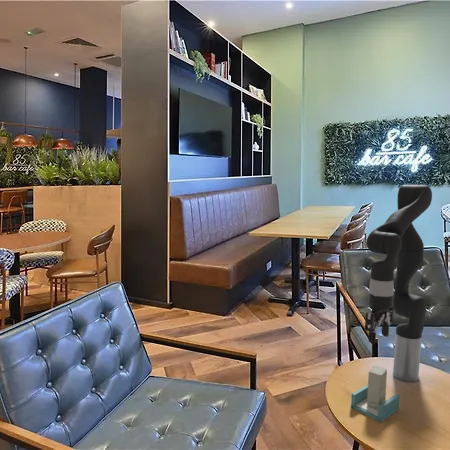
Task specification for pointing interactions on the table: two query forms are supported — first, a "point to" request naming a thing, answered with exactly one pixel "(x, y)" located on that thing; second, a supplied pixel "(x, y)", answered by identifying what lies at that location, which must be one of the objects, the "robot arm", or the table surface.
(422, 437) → the table surface
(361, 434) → the table surface
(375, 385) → the skincare box
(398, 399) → the u rest
